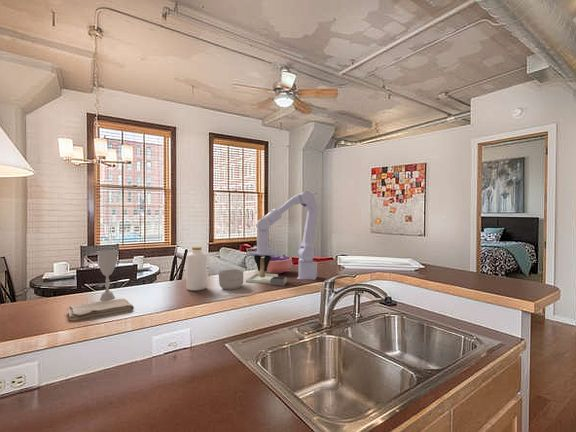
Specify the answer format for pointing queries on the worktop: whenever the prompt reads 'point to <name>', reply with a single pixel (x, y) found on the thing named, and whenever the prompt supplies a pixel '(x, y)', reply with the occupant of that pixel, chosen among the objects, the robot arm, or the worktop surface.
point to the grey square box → (278, 281)
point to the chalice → (107, 269)
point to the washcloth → (98, 309)
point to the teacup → (231, 278)
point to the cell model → (279, 264)
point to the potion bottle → (196, 269)
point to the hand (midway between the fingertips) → (262, 270)
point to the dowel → (262, 267)
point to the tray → (260, 278)
